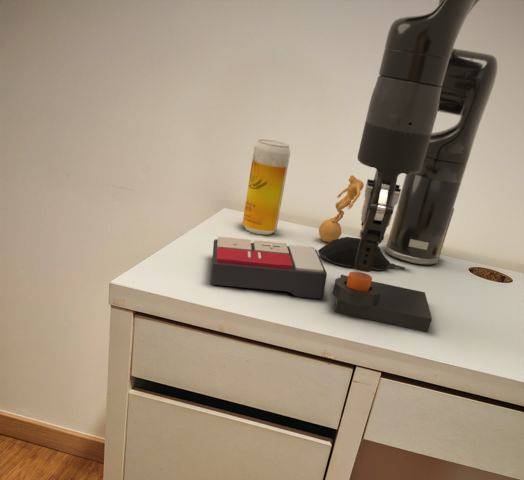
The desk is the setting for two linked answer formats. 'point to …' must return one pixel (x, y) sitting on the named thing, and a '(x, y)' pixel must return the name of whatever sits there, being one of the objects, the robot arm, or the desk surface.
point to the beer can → (266, 186)
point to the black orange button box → (384, 304)
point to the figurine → (340, 211)
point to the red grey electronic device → (268, 266)
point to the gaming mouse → (351, 254)
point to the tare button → (359, 281)
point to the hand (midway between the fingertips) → (362, 269)
